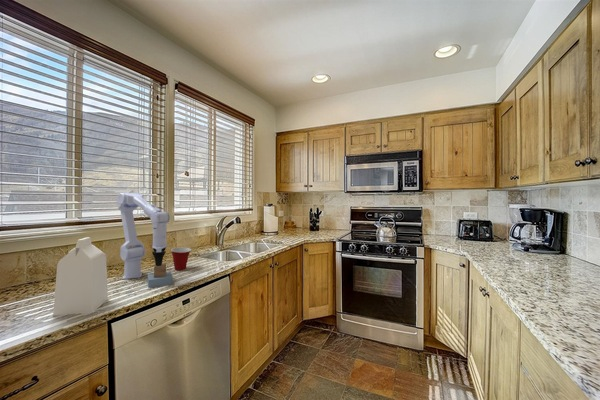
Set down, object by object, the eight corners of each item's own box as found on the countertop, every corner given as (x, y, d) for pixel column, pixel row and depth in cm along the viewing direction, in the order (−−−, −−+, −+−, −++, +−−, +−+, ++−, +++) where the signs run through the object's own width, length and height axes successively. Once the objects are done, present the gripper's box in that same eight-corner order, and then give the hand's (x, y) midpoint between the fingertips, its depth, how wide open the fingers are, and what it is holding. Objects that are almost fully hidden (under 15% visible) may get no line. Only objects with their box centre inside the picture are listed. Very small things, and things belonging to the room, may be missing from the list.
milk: (92, 312, 89) (94, 241, 89) (53, 315, 86) (54, 241, 86) (107, 299, 100) (109, 235, 100) (73, 301, 97) (75, 236, 97)
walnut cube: (154, 274, 122) (154, 264, 122) (166, 273, 124) (166, 263, 124) (153, 277, 117) (154, 267, 117) (165, 276, 120) (165, 266, 120)
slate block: (147, 282, 122) (147, 274, 122) (170, 279, 128) (170, 271, 128) (148, 288, 114) (148, 280, 114) (172, 285, 119) (172, 276, 119)
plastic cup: (182, 272, 137) (182, 251, 137) (165, 270, 140) (166, 249, 140) (194, 267, 148) (195, 247, 148) (179, 265, 150) (179, 246, 150)
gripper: (169, 238, 116) (168, 266, 116) (168, 233, 129) (168, 259, 129) (151, 239, 113) (150, 268, 113) (153, 234, 125) (152, 260, 125)
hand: (158, 263), depth 120 cm, fingers open, 7 cm apart
